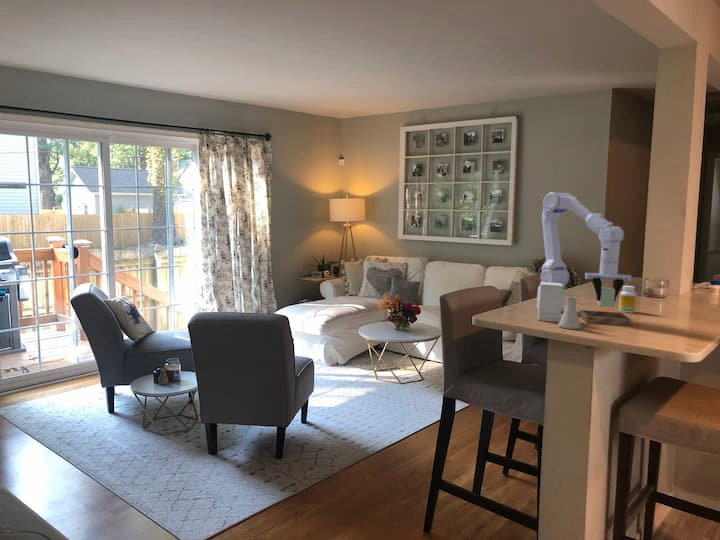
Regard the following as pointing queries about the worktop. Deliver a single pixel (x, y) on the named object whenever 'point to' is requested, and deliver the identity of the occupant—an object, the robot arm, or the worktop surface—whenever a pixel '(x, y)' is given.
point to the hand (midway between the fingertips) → (605, 300)
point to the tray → (605, 317)
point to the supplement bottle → (627, 299)
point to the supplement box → (550, 301)
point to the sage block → (607, 297)
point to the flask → (570, 315)
